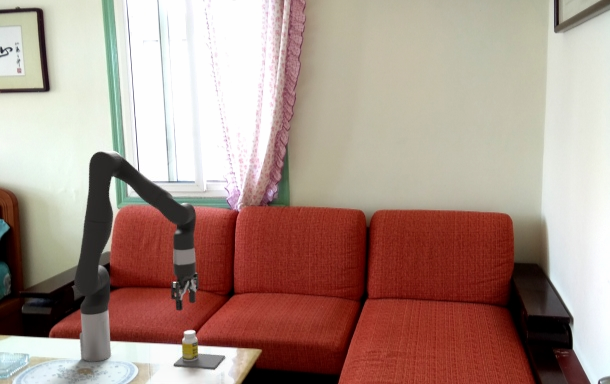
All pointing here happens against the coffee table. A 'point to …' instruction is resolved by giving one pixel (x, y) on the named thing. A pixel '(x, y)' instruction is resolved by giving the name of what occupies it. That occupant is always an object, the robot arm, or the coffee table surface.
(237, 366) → the coffee table surface
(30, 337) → the coffee table surface
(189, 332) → the supplement bottle
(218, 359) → the rubber mat
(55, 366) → the coffee table surface
